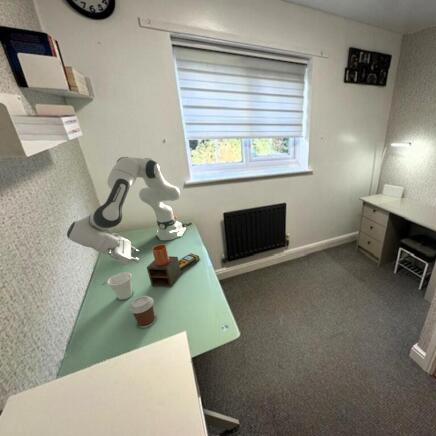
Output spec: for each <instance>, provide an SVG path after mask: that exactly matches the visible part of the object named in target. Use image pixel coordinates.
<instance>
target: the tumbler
mask: <svg viewBox="0 0 436 436" xmlns="http://www.w3.org/2000/svg"><path fill="white" fill-rule="evenodd" d="M151 251H152V255H153V259H154V260H155V263H156V265H164V264H167V263H168V262H169V257H168V256H169V253H168V249H167V245H166V244H163V243H162V244H156V245H154V246H153V247H152V248H151Z"/></svg>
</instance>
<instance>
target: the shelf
mask: <svg viewBox="0 0 436 436" xmlns="http://www.w3.org/2000/svg"><path fill="white" fill-rule="evenodd" d="M168 257H169V262H168V263H167V264H164V265H156V263H155V259H154V260H153V261H151V262H150V264H148V265H147V266H146V271H147V273H148V277H149V281H150V284H151V286H152V287H169V288H172V287H173V285H174V284H175V283H176V282H177V281H178V279H179V278H180V276H181V275H182V271H180V266H179V261H178V260H179V258H178V256H169V255H168Z"/></svg>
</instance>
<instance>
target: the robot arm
mask: <svg viewBox="0 0 436 436" xmlns="http://www.w3.org/2000/svg"><path fill="white" fill-rule="evenodd" d="M137 178H140V179H141V178H142V180H143V182H144V184H145V185H146V187H142V188H140V190H139V192H138V197H139V199H140V200H141V201H142V202H143V203H145V204H147V205H148V206H150V207H151V208H152V210H153V211H154V214H155V218H156V231H157V234H156V236H157V237H158V239H159V240H160V241H172V240H175V239H178V238H181V237H183V235H184V233H185V232H186V230H187V227H186V226H190V225H191V224H192V222H189V223H183V222H180V221H178V220H177V219H178V216H177V215H174V212H173V208H172V207H170V206H169V205H166V204H165V202H167V203H168V202H174V201H178V200H179V199H180V197H181V191H180V189H179V188H178V187H177V186H175V185H173V184H171V183H169V182H168V181H167V180H165V177H164V176H163V174H162V172H161V166H160V164H159V163H158V162H157V161H155V160H154V159H153V158H151V157H143V158H141V157H129V156H121V157H120V158H118V159H116V163H115V165H114V166H113V167H112V169H111V171H110V172H109V174H108V178H107V181H106V184H107V186H108V187H109V188H110V192H109V194H108V196H107V199H106V201H105V202H104V203H103V204H102V205H100V206H99V207H98V208H96V210H94V211H93V212H92V213H90V214H88V215H87V216H86V217H84V218H82V219H79V220H75V221H73V222H72V223H71V224H70V226H69V227H68V229H67V232H66V238H67V239H68V240H70V241H71V242H73V243H75V244H78V245H80V246H83V247H85V248H91V249H93V250H94V251H96V252H98V253H101V254H104V255H106V256H108V255H109V257H110V259H111V260H113V261H115V262H117V263H119V264H121V265H128V264H129V263H136V264H138V263H140V258H138V257H133V256H132V253H133V254H135V255H138V254H139V253H140V250H139V249H137V248H136V247H135V246H132V242H131V241H130V240H129V239H128V238H126V237H123V236H121V235H119V234H118V233H117V232H113V233H108V230H110V229H111V228H114V227H117V226H118V225H119V224H121V222H122V220H123V206H124V204H125V201H126V198H127V195H128V193H129V192H130V191H131V189H132V188H133V187H134V185H135V183H136V180H137ZM185 225H186V226H185Z"/></svg>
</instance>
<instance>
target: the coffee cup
mask: <svg viewBox="0 0 436 436" xmlns="http://www.w3.org/2000/svg"><path fill="white" fill-rule="evenodd" d="M154 303H155V301H154V298H152V297H151V296H148V295H140V296H137V297H136V298H134V299H133V300H132V301H131V303H130V305H129V307H128V309H129V312H130V313H131V314H133V316H134V318H135V320H136V322H137V324H138V326H139V327H140V328H143V329H145V328H148V327H151V326H152V325H153V324H154V323H155V322H156V316H155V310H154Z"/></svg>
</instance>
